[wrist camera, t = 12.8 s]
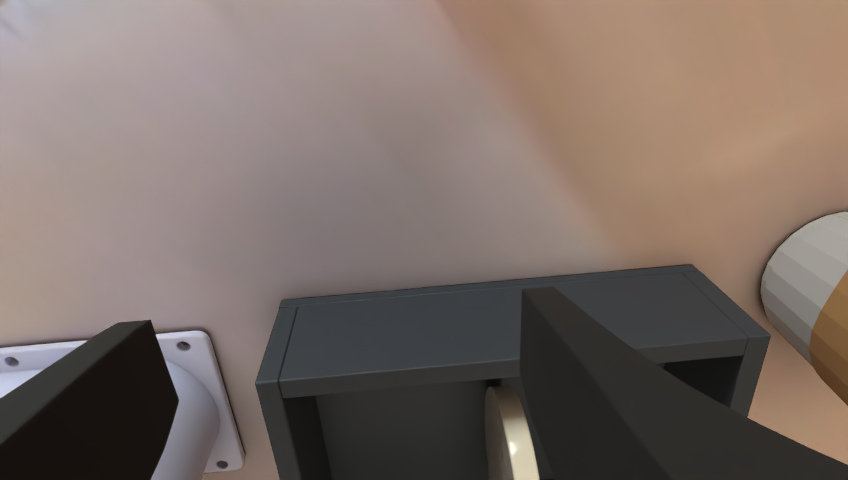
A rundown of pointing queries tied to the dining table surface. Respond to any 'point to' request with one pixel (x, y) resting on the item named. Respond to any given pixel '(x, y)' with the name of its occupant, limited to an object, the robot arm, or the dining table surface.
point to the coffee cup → (813, 296)
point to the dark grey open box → (470, 366)
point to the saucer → (508, 436)
